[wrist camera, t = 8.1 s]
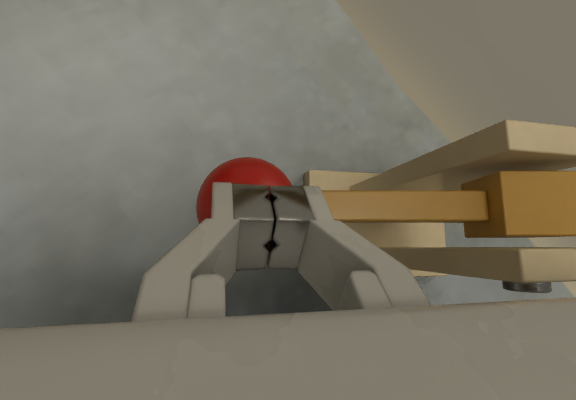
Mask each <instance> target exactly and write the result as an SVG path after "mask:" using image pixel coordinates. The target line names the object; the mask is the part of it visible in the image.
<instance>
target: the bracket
mask: <svg viewBox="0 0 576 400" xmlns="http://www.w3.org/2000/svg"><path fill="white" fill-rule="evenodd" d="M571 167H576V127H569V126H560V125H550V124H542V123H533V122H524V121H514V120H504V121H502V122H499V123H497V124H495V125H492V126H490V127H488V128H485V129H483V130H481V131H479V132H476V133H474V134H472V135H469V136H467V137H465V138H462V139H460V140H458V141H456V142H453V143H450V144H448V145H446V146H443V147H441V148H439V149H436V150H434V151H432V152H429V153H427V154H425V155H422V156H420V157H418V158H415V159H413V160H411V161H408V162H406V163H404V164H401V165H399V166H397V167H394V168H392V169H390V170H387V171H385V172H383V173H381V174H375V173H357V172H339V171H321V170H309V171H307V172H306V173H305V174H304V186H318V187H320V189H321V190H461V184H463V183H466V182H469V181H472V180H475V179H478V178H481V177H484V176H487V175H490V174H493V173H495V172H498V171H557V170H561V169H566V168H571ZM344 224H345V225H347V226H348V227H350V228H351V229H352V230H354V231H355V232H357V233H358V234H360V235H361V236H363V237H364V238H365V239H367V240H368V241H370V242H371V243H373V244H374V245H376V246H377V247H378V248H380V249H381V250H383V251H384V252H386V253H387V254H389V255H390V256H391V257H393V258H394V259H396V260H397V261H399V262H400V263H402V264H403V265H404V266H406V267H407V268H409V270H410V271H411V273H412V275H413V276H414V277H420V276H447V275H448V274H452V275H460V276H468V277H477V278H485V279H493V280H502V284H503V288H504V289H506V290H510V291H517V292H529V293H548V292H551V291H552V288H551V282H566V281H576V248H559V247H558V248H554V247H547V248H546V247H544V248H543V247H446V242H445V229H444V223H344Z"/></svg>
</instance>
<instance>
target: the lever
mask: <svg viewBox="0 0 576 400" xmlns="http://www.w3.org/2000/svg"><path fill="white" fill-rule="evenodd" d="M213 182H227V183H231V184H232V183H243V184H260V185H267V186H268V185H269V186H292V184H291V182H290V181H289V179H288V178H287V177H286V175H285V174H284V173H283V172H282V171H281V170H280V169H278V168H277V167H276V166H274V165H273V164H271V163H269V162H267V161H264V160H261V159H257V158H250V157H244V158H236V159H233V160H229V161H227V162H225V163H223V164H221V165H220V166H218V167H217V168H215V169H214V170H213V171H212V172H211V173H210V174H209V175H208V176H207V178H206V179H205V180H204V182H203V184H202V186H201V188H200V190H199V193H198V197H197V204H196V211H197V218H198V221H199V224H200V223H201V222H202V221H203V220H205V219H211V209H212V186H213ZM321 191H322V193H323V195H324V198H325V200H326V202H327V204H328V207H329V209H330V211H331V213H332V216H333V218H334V220H338V221H341V222H342V223H464V232H465V237H467V238H516V237H560V236H576V171H498V172H495V173H493V174H490V175H487V176H484V177H481V178H478V179H475V180H472V181H469V182H466V183H463V184H461V190H321Z"/></svg>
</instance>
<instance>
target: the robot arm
mask: <svg viewBox="0 0 576 400" xmlns="http://www.w3.org/2000/svg"><path fill="white" fill-rule="evenodd" d="M266 264H267V266H268V269H297V271H298V272H299V273H300V274H301V276H302V277H303V278H304V279H305V280H306V281H307V282H308V283H309V284H310V286H311V287H312V288H313V289H314V290H315V291H316V292H317V293H318V295H319V296H320V297H321V298H322V299H323V300H324V301H325V302H326V304H327V305H328V306H329V307H330V308H331V309H332V310H333V311H317V312H299V313H280V314H262V315H243V316H226V315H225V287H226V286H227V284H228V283H229V281H230V280H231V278H232V277H233V275H234V274H235V271H239V270H259V269H266ZM0 400H576V298H559V299H541V300H522V301H504V302H485V303H467V304H449V305H431V304H430V303H429V301H428V299H427V298H426V296H425V295H424V293H423V291H422V290H421V288H420V286H419V285H418V283H417V281H416V280H415V278H414V276H413V275H412V273H411V271H410V270H409V268H407V267H406V266H404V265H403V264H402V263H400V262H399V261H397V260H396V259H394V258H393V257H391V256H390V255H389V254H387V253H386V252H384V251H383V250H381V249H380V248H378V247H377V246H376V245H374V244H373V243H371V242H370V241H368V240H367V239H365V238H364V237H363V236H361V235H360V234H358V233H357V232H355V231H354V230H352V229H351V228H350V227H348V226H347V225H345V224H344V223H342V222H341V221H338V220H334V218H333V216H332V213H331V211H330V209H329V207H328V204H327V202H326V200H325V198H324V195H323V193H322V191H321V189H320V187H318V186H269V185H268V186H267V185H260V184H243V183H232V184H231V183H227V182H213V186H212V209H211V219H205V220H203V221H202V222H201V223H200V224H199V225H198V226H197V227H196V228H194V229H193V230H192V231H191V232H190V233H189V234H188V235H187V236H185V237H184V238H183V239H182V240H181V241H180V242H179V243H178V244H177V245H175V246H174V247H173V248H172V249H171V250H170V251H169V252H168V253H166V254H165V255H164V256H163V257H162V258H161V259H160V260H159V261H157V262H156V263H155V264H154V265H153V266H152V267H151V268H150V269H148V270H147V271H146V272H145V273H144V274H143V278H142V281H141V285H140V289H139V293H138V297H137V301H136V305H135V308H134V312H133V316H132V320H131V322H114V323H95V324H77V325H58V326H40V327H21V328H2V329H0Z"/></svg>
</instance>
